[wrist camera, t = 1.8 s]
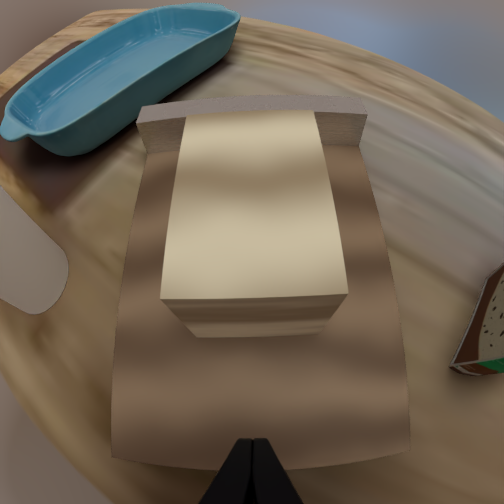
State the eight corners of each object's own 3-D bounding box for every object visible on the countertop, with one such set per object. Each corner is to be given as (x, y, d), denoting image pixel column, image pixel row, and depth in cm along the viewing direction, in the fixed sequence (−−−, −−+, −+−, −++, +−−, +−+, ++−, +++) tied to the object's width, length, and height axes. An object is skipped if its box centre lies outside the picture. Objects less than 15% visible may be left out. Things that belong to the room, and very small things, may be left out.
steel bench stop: (358, 146, 28) (367, 114, 24) (147, 154, 28) (135, 123, 24) (352, 129, 29) (360, 98, 25) (152, 136, 29) (141, 106, 26)
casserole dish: (170, 28, 47) (164, -3, 41) (268, 46, 41) (268, 7, 34) (6, 148, 34) (-17, 116, 28) (66, 210, 28) (31, 165, 21)
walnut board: (401, 448, 17) (410, 450, 16) (120, 454, 18) (111, 457, 16) (348, 136, 30) (351, 125, 29) (157, 143, 31) (153, 133, 29)
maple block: (318, 334, 20) (348, 293, 13) (196, 337, 20) (159, 298, 13) (302, 186, 25) (313, 110, 18) (205, 190, 26) (186, 115, 18)
